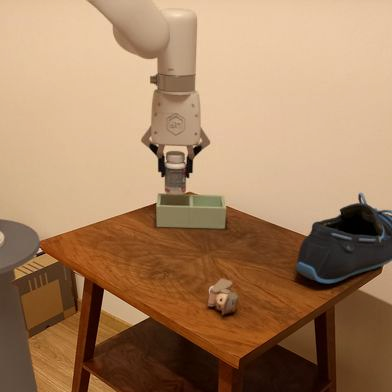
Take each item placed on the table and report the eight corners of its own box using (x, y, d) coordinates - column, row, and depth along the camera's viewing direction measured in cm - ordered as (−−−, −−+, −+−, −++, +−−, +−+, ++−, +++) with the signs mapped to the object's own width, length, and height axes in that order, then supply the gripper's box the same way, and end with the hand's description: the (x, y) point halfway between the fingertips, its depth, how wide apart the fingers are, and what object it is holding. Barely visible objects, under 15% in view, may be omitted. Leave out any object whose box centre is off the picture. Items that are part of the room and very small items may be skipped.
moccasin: (415, 250, 113) (434, 197, 106) (353, 302, 89) (372, 239, 82) (356, 230, 119) (371, 179, 112) (283, 275, 95) (297, 213, 89)
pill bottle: (187, 195, 113) (188, 156, 108) (165, 196, 112) (165, 156, 107) (184, 188, 116) (185, 150, 111) (163, 188, 116) (163, 150, 111)
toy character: (198, 289, 84) (232, 301, 82) (216, 274, 90) (247, 284, 89) (194, 311, 86) (227, 323, 84) (212, 294, 92) (243, 305, 91)
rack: (156, 227, 115) (156, 206, 112) (157, 213, 121) (157, 193, 118) (224, 228, 115) (226, 208, 113) (222, 215, 122) (224, 195, 119)
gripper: (131, 85, 98) (135, 180, 109) (220, 88, 99) (214, 182, 109) (134, 78, 104) (137, 169, 115) (218, 81, 105) (213, 171, 115)
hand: (175, 174), depth 112 cm, fingers closed on pill bottle, 4 cm apart
